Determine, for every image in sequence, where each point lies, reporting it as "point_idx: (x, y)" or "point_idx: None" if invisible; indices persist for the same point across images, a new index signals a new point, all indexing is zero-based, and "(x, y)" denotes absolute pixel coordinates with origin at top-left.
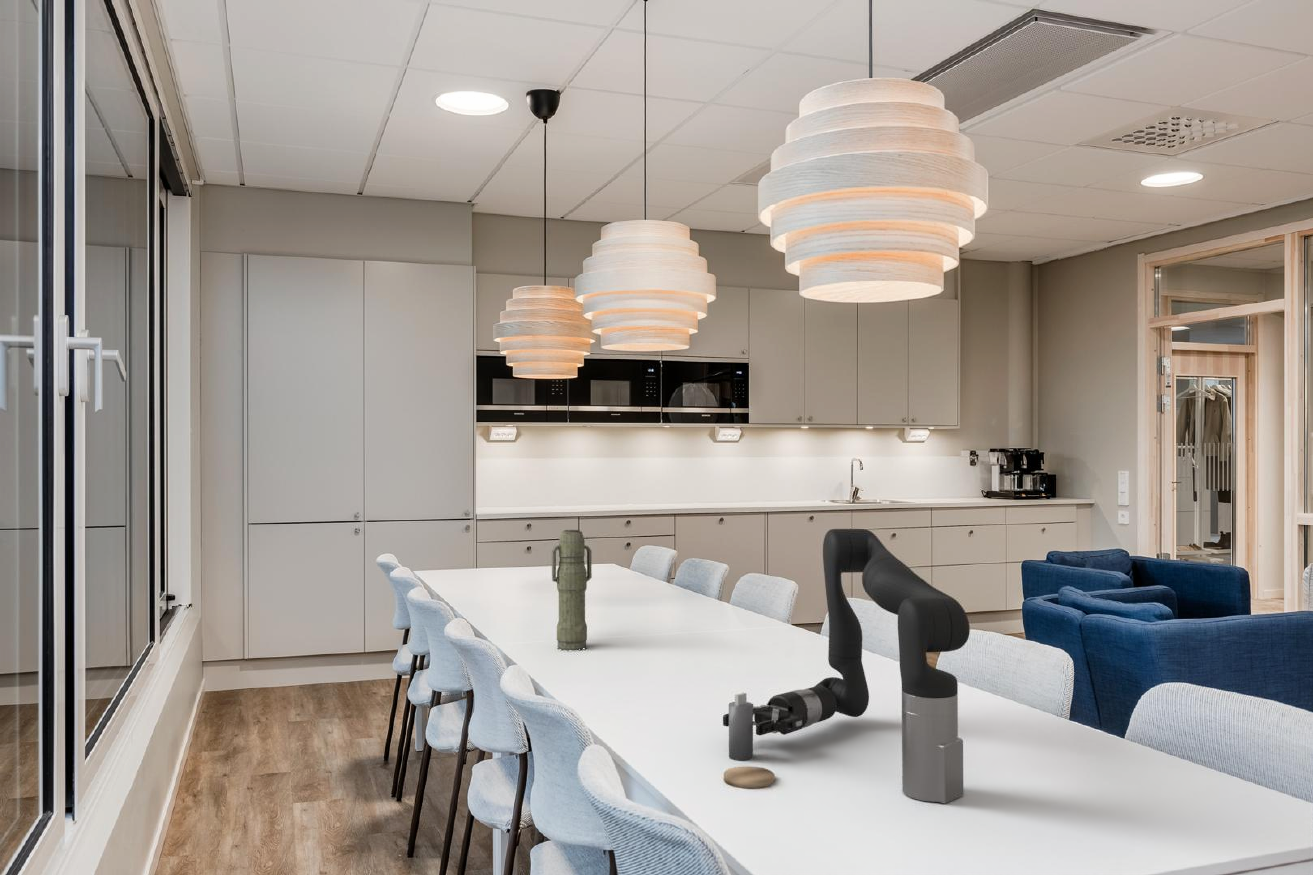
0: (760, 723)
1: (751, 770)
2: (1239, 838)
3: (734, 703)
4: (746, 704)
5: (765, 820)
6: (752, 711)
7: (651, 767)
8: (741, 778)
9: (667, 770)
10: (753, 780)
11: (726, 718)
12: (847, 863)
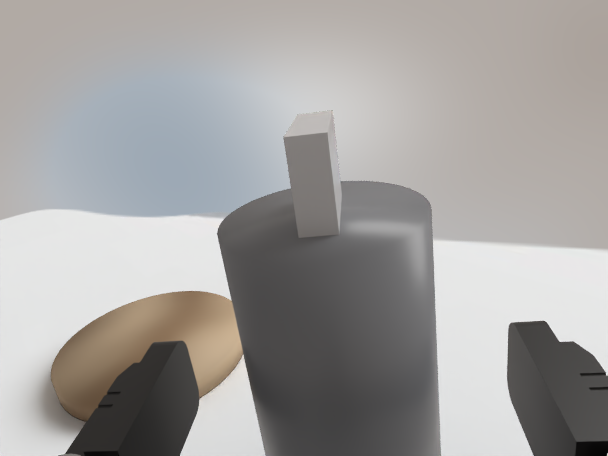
0: (153, 351)
1: None
2: None
3: (383, 204)
4: (282, 231)
5: (37, 262)
6: (231, 292)
7: (479, 259)
8: (159, 310)
9: None
10: (115, 319)
11: (513, 345)
12: None
